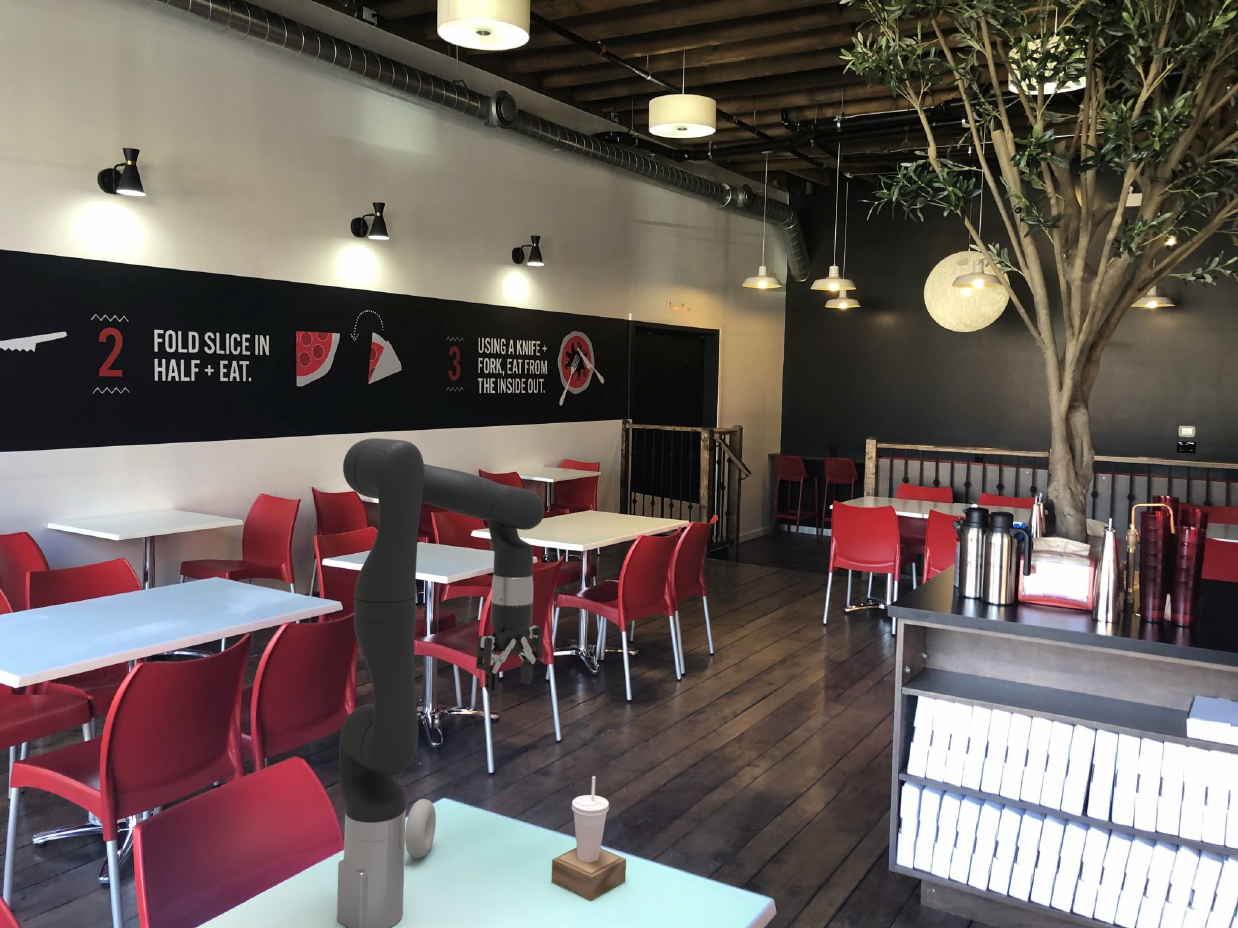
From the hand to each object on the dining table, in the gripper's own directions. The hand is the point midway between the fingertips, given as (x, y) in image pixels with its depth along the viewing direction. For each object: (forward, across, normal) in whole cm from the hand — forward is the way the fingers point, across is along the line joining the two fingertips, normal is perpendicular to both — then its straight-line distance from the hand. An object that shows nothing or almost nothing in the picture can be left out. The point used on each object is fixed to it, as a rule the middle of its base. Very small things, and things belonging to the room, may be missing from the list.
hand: (509, 687), depth 171 cm
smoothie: (+26, +2, -19) cm, 32 cm away
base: (+30, +2, -19) cm, 36 cm away
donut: (+30, -12, +9) cm, 34 cm away
